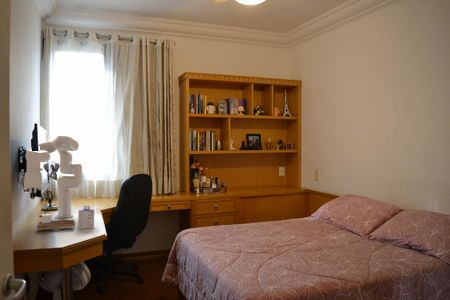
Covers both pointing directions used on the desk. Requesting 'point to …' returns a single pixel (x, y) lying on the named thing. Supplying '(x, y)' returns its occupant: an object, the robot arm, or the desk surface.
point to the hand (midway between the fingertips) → (32, 198)
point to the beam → (56, 224)
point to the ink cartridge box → (86, 218)
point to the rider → (46, 218)
